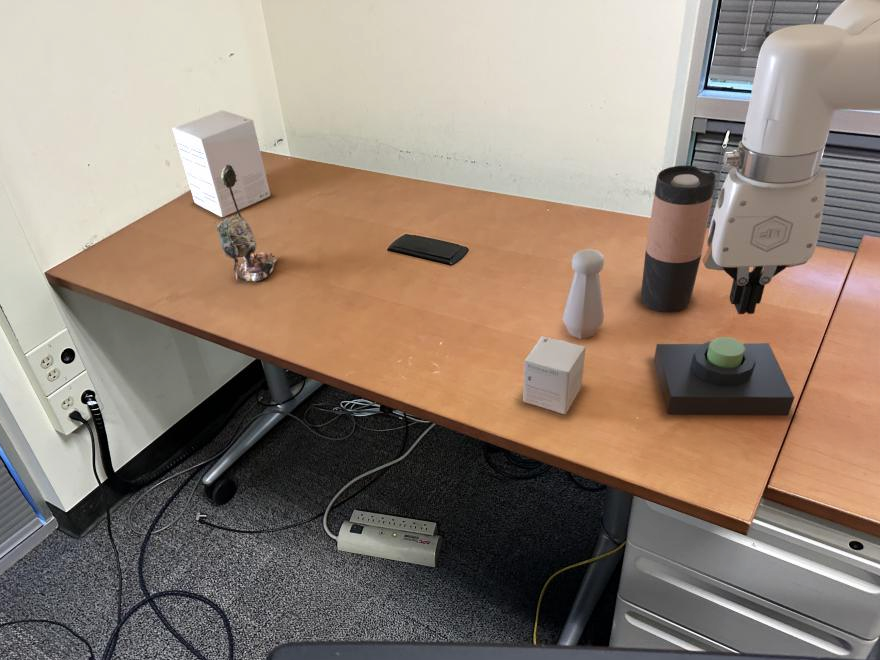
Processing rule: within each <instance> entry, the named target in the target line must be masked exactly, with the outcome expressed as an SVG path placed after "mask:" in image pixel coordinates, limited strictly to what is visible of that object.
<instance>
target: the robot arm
mask: <svg viewBox="0 0 880 660" xmlns="http://www.w3.org/2000/svg"><path fill="white" fill-rule="evenodd" d="M757 57H758V58H757V63H756V68H755V73H754V78H753V83H752V88H751V93H750V97H749V103H748V108H747V112H746V118H745V124H744V129H743V133H742V137H741V138H742V139H741V141H739V142H738V147H736V150H732V151H730V152H725V153H724V155H723V160H722V161H723V162H722V163H723V166H724V167H726V166H728V167H729V166H730V167H732V168H730V170H729V172H728V173H727V175H726V177H725V180H724V182H723V184H722V187H721V190H720V192H719V195H718V197H717V200H716V204H715V207H714V210H713V213H712V217H711V221H710V224H709V229H708V234H707V242H706V243H707V244H706V245H707V247H708V248H707V249H706V252H705V254H704V256H703V258H702V263H703V265H704V267H705V268H706V269H708V270H714V271H724V272H725V273H726V274H727V275H728V276H729V277H730V278H732V279H733V280H732V284H731V289H730V293H729V302H730V304H731V305H734V308H735V310H736V311H737V314H738V315H745V314H748V315H754V314H755V312H756V307H757V304H758V305H759V304H761V302H762V298H763V294H764V290H765V286H767V285H769V284H770V283H771V281H772V279H773V278H774V277H775V276H777V275H778V274H780V273H781V272H783V271H784V270H785V269H787V268H793V267H797V266H802V265H805V264H807V263H808V261H809V260H811V259H812V257H813V255H814V253H815V251H816V249H817V245H818V240H819V236H820V232H821V226H822V221H823V216H824V209H825V201H826V200H825V199H826V192H827V191H826V190H827V173H826V171H825V170H823V169H821V167H820V166H821V162H822V159H823V155H824V151H825V149H826V143H827V140H828V137H829V133H830V130H831V126H832V122H833V120H834V115H835V113H836V112H837V111H865V112H880V0H843V1H842V2H841V3H840V4H839V5H838V6H837V7H836V8H835V9H834V10H833V11H832V12H831V14H830V15H829V16H828V17H827V18H826V19H825V20H824V22H823V24H821V23H811V24H809V23H807V24H797V25H790V26H786V27H783V28H779V29H777V30H775V31H774V32H772V33H771V34H769V35H768V36H767V37H766V39H765V40H764V41H763V42H762V44H761V47H760V50H759V53H758V56H757ZM750 268H752V270H751V271H750Z"/></svg>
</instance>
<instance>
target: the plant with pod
mask: <svg viewBox="0 0 880 660" xmlns="http://www.w3.org/2000/svg"><path fill="white" fill-rule="evenodd" d="M221 178H222V181H223V183H224V185H225V186H226V187H227V188H229V189H230V193H231V196H232V199H233V201H234V205H235V207H236V210H237V211H236V213H237V214H234V215H232V216H230V217H226V218H224V219H223V220H221V221H220V222H219V223H218V225H217V227H216V229H217V233H218V236H219V237H218V238H219V242H220V245H221V248H222V251H223V253H224V254H225V256H226V258H229V259H232V260H233V261H234V262H233V263H234V265H233V270H234V274H235V280H241V281H245V282H248V281H249V282H259V281H262V280H264V279H266V278H267V277H268V276H269V275H270V274H271V273H272V272H273V271H274V267H275V265H276V264H277V262H276V261H278V260H279V259H278V258H277V256H275V255H273V253H269V254H268V253H266V252H265V251H261V252H260V253H255V252H256V250H257V248H258V247H257V245H258V244H257V241H256V237H255V234H254V232H253V230H252V228H251V226H250V224H249V223H248V221H247V220H246V218H245V217H243V216H242V215H241V213H240V210H238V208H237V204H236V202H235V199H234V196H233V192H232V188H231V187H233V186H234V185H235V182H237V180H236V174H235V171H234V170H233V168H232V166H231V165H226V166H225V167H224V169H223V171H222V173H221ZM214 224H217V223H216V221H214ZM239 258H242V259H243V260H244V262H242V263H241V264H240V265H239Z"/></svg>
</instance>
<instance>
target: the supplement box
mask: <svg viewBox="0 0 880 660" xmlns="http://www.w3.org/2000/svg"><path fill="white" fill-rule="evenodd" d="M172 132H173V135H174V138H175V142H176V146H177V148H178V151H179V156H180V159H181V162H182V165H183V168H184V173H185V175H186V178H187V182H188V185H189V189H190V191H191V196H192V199H193V201H194V204H196V205H198V206H200V207H201V208H203V209H205V210H207V211H209V212H211V213H212V214H215V215H217V216H218V217H221V218H225V217H227V216H229V215H231V214H234V213H237V210H236V207H235V205H234V201H233V199H232V196H231V193H230V189H229V188H227V187H226V186H225V185H224V183H223V181H222V178H221V173H222V171H223V169H224V167H225V166H226V165H231V166H232V168H233V170H234V171H235V174H236V180H237V182H235V185H234V186H233V187H231V188H232V192H233V196H234V199H235V202H236V204H237V208H238V210H239V211H241V210H243V209H245V208H247V207H249V206H252V205H254V204H256V203H258V202H260V201H263V200H266V199H268V198H269V197H271V191H270V187H269V181H268V179H267V174H266V170H265V166H264V165H265V164H264V162H263V157H262V152H261V149H260V143H259V140H258V136H257V132H256V128H255V122H254V119H252V118H248V117H245V116H242V115H239V114H236V113H232V112H229V111H226V110H218V111H216V112H213V113H211V114H208V115H205V116H203V117H200V118H198V119H197V118H196V119H195V120H192V121H188V122H186V123H184V124H180V125H178V126H174V127H172Z"/></svg>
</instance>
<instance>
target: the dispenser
mask: <svg viewBox="0 0 880 660" xmlns="http://www.w3.org/2000/svg"><path fill="white" fill-rule="evenodd" d="M711 341H712V340H709V341H706V342H704V343H657V344H656V345H655V350H654V351H655V352H654V357H653V364H654V367H655V373H656V376H657V380H658V383H659V387H660V392H661V395H662V398H663V399H662V400H663V403H664V406H665V410H666V415H707V416H709V415H710V416H711V415H713V416H785V417H786V416H787V417H788V416H789V414H790V412H791V409H792V406H793V403H794V400H795V399H796V398H795V395H794V393H793V391H792V389H791V387H790V385H789V383H788V380H787V379H786V376H785V375H784V372H783V370H782V369H781V366H780V363H779V362H778V360H777V358H776V356H775V353H774V351H773V349H772V347H771V345H770V343H769V342H761V343H760V342H758V343H757V342H755V343H751V342H749V343H748V342H747V343H745V342H743V343H742V342H741V343H742V344H743V345H744V347H745V351H744V355H743V358H742V362H741V364H740V365H739V366H738V367H735V368H722V367H719V366H715V365H713V364H711V363H710V362H708V360H707V353H708V349H709V345H710V342H711Z"/></svg>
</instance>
